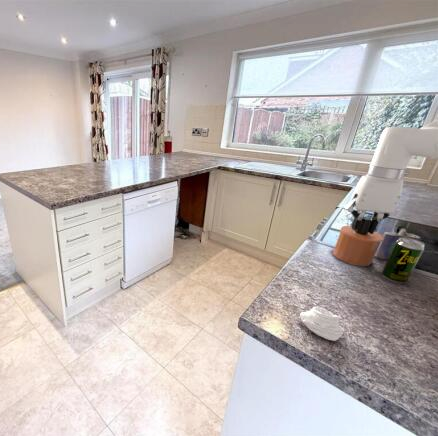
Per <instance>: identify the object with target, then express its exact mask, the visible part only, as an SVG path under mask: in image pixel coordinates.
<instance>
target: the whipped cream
mask: <svg viewBox="0 0 438 436" xmlns="http://www.w3.org/2000/svg"><path fill="white" fill-rule="evenodd" d="M299 316H300V319H301V321H302V323H303V324H304V325H305V327H307V328H308V329H309V330H310V332H312V333H314V334H315V335H317V336H319V337H321V338H324V339H325V340H328V341H332V342H333V341H334V342H336V341H337V340H339V339H340V338H341V337H342V336H343V334H344V332H346V329H345V328H344V327H342V325H341V319H342V316H340V315H338V314H337V315H335V314H334V313H333V312H331V311H330V310H327V309H325V308H323V307H320V306H314V307H312V308H311V309H310V310H308V311H302V312H300V313H299Z"/></svg>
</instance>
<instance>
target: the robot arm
mask: <svg viewBox="0 0 438 436" xmlns="http://www.w3.org/2000/svg"><path fill="white" fill-rule="evenodd" d="M413 156H414V157H421V158H427V159H433V160H438V118H437V119H435V120H433V121H431V122H429V123H427V124H424V125H423V126H421V127H420V128H419V127H413V126H389V127H386V128H385V129H383V131H382V132H381V135H380V138H379V140H378V143H377V146H376V149H375V152H374V154H373V156H372V159H371V162H370V165H369V167H368V170H367V173H366V175H365V174H364V175H362V176H361V177H360V179H359V180H358V182H357V184H356V186H355V187H354V189H353V191H352V194H351V196H350V199H349V202H348V204H346V205H345V206H344V210H346V211H347V212H349V213H350V214H351V215H352V217H353V219H352V223H351V225H350V226H351V227H352V229H353V230H354V231H355V232H360V229H361V227H362V224H363V221H362V219H363V217H365V216H366V213H367V212H372V216H371V218H372V219H373V222H372V224H371V227H370V229H369V233H370V234H373V233H374V232H376V230H377V227H378V226H379V223H382V221H383V220H385V219H386V218H389V217H391V216H396V215H397V214H398V210H397V207H398V204H399V202H400V199H401V196H402V192H403V188H404V179H403V178H404V176H408V175H409V174H410V170H407V169H408V166H409V163H410V161H411V159H412V157H413Z"/></svg>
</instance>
